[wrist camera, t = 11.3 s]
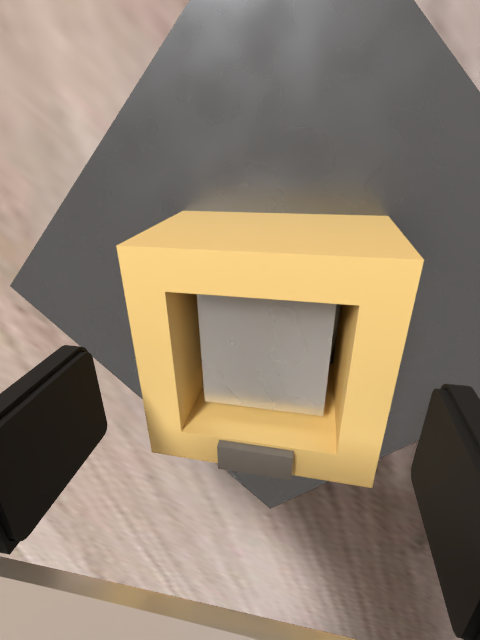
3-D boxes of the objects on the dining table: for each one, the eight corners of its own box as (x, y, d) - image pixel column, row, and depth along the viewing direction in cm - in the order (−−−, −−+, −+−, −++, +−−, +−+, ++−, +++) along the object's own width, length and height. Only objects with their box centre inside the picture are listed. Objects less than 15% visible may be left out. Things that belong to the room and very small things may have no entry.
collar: (388, 216, 12) (427, 264, 8) (358, 389, 16) (373, 496, 11) (182, 210, 14) (110, 248, 9) (196, 371, 17) (148, 458, 12)
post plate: (619, 313, 13) (783, 410, 9) (273, 486, 22) (259, 585, 17) (298, -127, 10) (275, -367, 5) (32, 275, 18) (-72, 324, 13)
